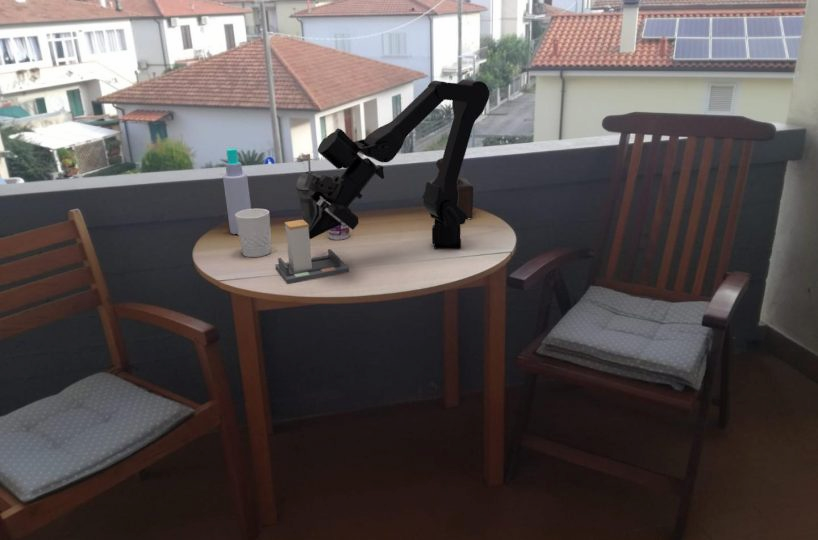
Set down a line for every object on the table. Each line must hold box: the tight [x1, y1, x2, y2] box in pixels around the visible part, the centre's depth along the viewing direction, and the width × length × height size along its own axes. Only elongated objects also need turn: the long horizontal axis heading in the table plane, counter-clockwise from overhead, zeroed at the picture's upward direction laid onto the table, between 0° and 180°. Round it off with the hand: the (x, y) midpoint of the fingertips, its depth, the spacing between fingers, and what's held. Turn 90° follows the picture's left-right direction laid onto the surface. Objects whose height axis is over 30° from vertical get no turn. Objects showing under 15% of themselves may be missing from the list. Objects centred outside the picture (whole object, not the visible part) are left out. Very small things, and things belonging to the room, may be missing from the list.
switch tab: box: [284, 219, 312, 272], centre depth 137 cm, size 4×4×10 cm
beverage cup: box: [295, 153, 319, 228], centre depth 165 cm, size 7×7×20 cm
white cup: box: [235, 208, 272, 258], centre depth 151 cm, size 8×8×10 cm
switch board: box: [274, 249, 350, 285], centre depth 140 cm, size 14×10×3 cm
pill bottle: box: [327, 221, 350, 241], centre depth 160 cm, size 5×5×10 cm
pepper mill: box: [430, 157, 474, 220], centre depth 172 cm, size 16×11×18 cm
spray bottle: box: [222, 148, 252, 236], centre depth 164 cm, size 6×6×22 cm
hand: (308, 237), depth 138 cm, fingers closed
